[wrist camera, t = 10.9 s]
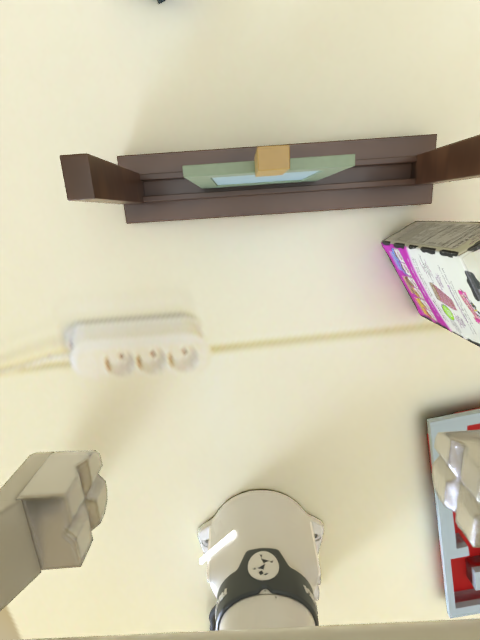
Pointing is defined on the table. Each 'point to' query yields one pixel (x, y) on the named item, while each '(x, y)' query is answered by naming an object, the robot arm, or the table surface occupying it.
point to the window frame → (325, 194)
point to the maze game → (456, 530)
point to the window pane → (267, 169)
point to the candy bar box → (441, 272)
